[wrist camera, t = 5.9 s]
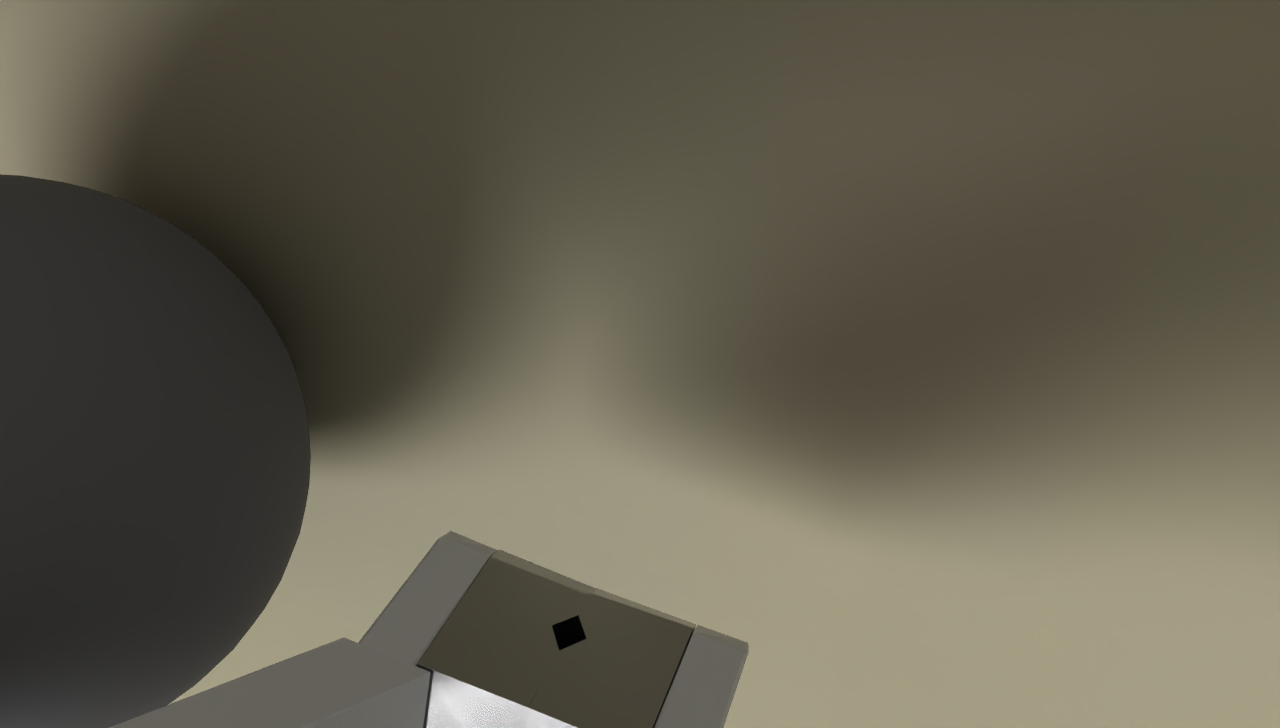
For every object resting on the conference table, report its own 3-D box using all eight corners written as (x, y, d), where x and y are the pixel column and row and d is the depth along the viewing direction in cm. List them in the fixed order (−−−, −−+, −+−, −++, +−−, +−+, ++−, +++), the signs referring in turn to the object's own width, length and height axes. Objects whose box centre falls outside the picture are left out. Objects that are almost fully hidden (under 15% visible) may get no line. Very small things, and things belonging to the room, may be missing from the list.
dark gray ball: (228, 897, 11) (349, 467, 15) (208, 606, 7) (377, 128, 11) (-378, 823, 11) (-88, 390, 14) (-751, 455, 7) (-219, -1, 11)
